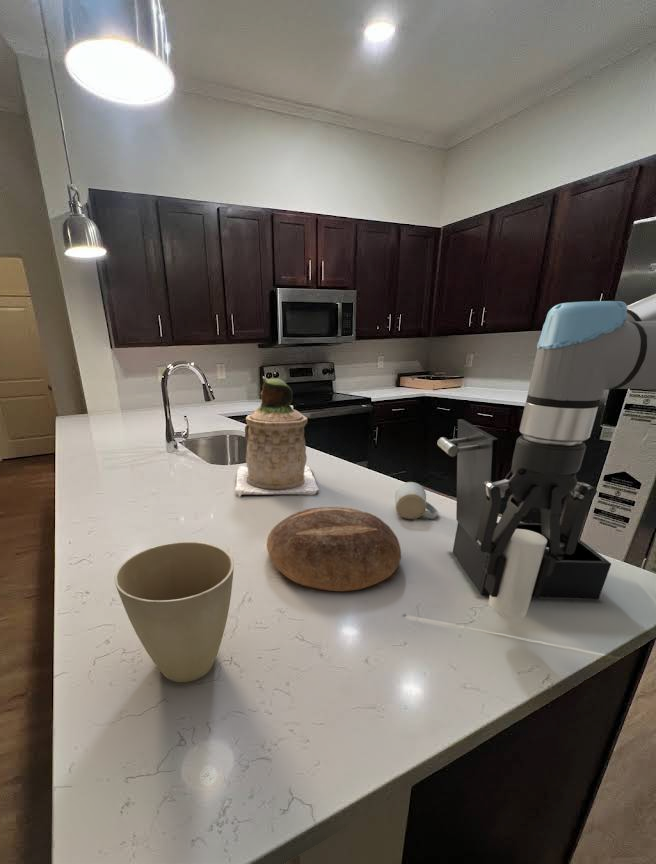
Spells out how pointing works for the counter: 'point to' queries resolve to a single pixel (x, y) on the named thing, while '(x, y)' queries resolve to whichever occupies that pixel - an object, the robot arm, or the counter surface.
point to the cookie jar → (275, 447)
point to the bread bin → (568, 579)
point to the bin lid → (471, 471)
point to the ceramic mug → (413, 502)
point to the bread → (334, 548)
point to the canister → (519, 573)
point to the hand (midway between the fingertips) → (511, 592)
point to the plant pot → (178, 604)
